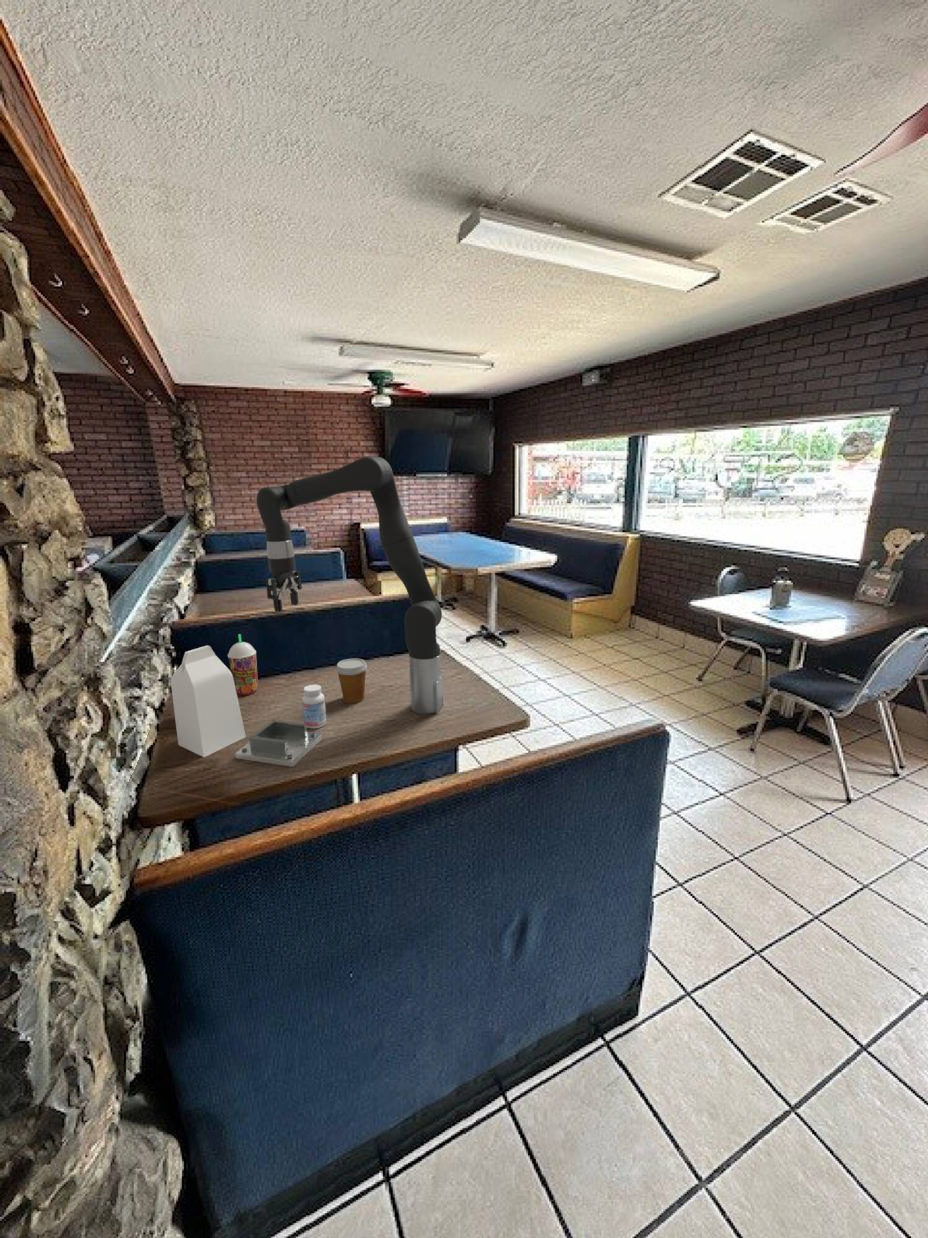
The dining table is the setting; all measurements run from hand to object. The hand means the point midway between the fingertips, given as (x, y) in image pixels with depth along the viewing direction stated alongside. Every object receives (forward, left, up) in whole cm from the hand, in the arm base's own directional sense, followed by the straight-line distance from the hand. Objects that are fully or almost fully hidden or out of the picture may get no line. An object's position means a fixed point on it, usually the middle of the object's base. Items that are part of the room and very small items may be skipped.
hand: (287, 607), depth 156 cm
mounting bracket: (-15, +31, -29) cm, 45 cm away
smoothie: (+16, +3, -29) cm, 33 cm away
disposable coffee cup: (-20, -1, -29) cm, 35 cm away
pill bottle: (-17, +17, -29) cm, 38 cm away
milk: (+5, +32, -29) cm, 43 cm away
